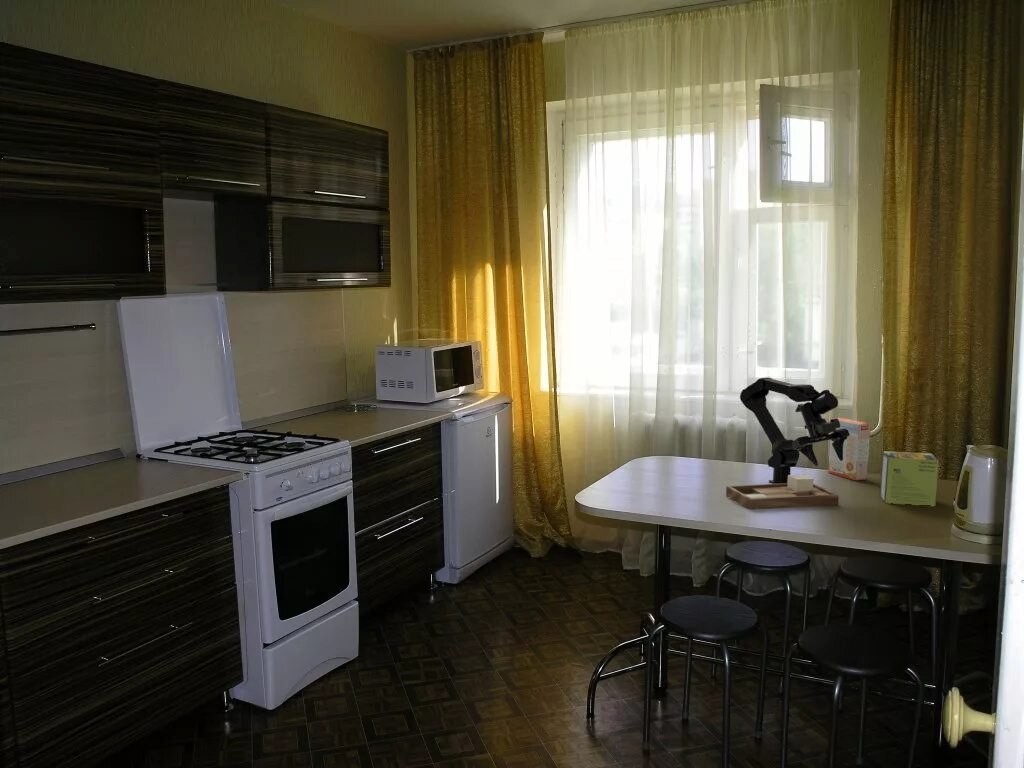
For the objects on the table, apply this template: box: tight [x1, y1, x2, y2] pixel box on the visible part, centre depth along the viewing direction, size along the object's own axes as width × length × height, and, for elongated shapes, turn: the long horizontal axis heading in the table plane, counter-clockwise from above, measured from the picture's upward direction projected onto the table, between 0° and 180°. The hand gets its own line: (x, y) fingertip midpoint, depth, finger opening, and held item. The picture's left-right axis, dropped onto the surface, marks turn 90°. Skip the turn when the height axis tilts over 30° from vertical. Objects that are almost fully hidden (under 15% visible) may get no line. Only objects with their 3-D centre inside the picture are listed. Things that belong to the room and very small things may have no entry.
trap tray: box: [725, 482, 840, 510], centre depth 284 cm, size 17×31×3 cm, turn 102°
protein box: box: [879, 450, 940, 507], centre depth 284 cm, size 10×15×16 cm
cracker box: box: [827, 417, 872, 481], centre depth 316 cm, size 14×6×21 cm, turn 22°
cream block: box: [787, 474, 815, 491], centre depth 289 cm, size 6×6×4 cm
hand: (829, 463), depth 286 cm, fingers open, 9 cm apart
